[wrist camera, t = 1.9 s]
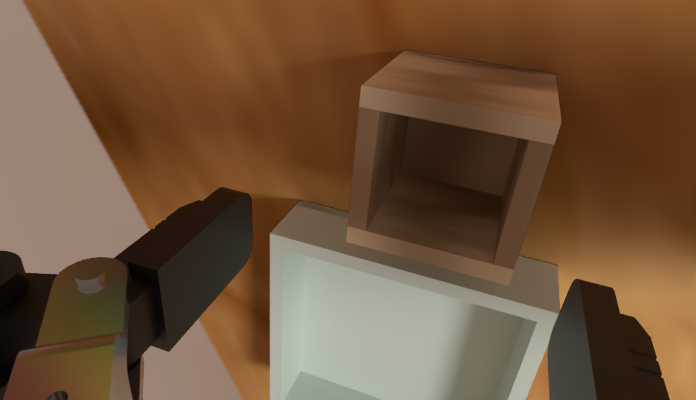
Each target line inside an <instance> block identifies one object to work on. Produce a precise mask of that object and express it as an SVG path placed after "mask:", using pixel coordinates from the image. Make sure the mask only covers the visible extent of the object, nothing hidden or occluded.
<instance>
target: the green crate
mask: <svg viewBox="0 0 696 400" xmlns="http://www.w3.org/2000/svg"><path fill="white" fill-rule="evenodd" d="M348 216H349V212H346V211H342V210H338V209H334V208H330V207H326V206H323V205H319V204H315V203H311V202H307V201H303V200H300V201H299V202H298V203H297V205H296V206H295V207H294V208H293V209H292V210H291V211H290V212H289V213H288V214H287V215H286V216H285V217H284V219H283V220H282V221H281V222H280V223H279V224H278V225H277V226H276V227H275V228H274V229H273V230H272V231H271V233H270V400H526V397H527V395H528V392H529V390H530V387H531V385H532V382H533V380H534V377H535V375H536V373H537V370H538V368H539V365H540V363H541V360H542V358H543V355H544V353H545V350H546V348H547V346H548V343H549V340H550V336H551V332H552V329H553V327H554V324H555V322H556V320H557V317H558V315H559V312H560V301H559V284H558V266H557V265H554V264H550V263H546V262H542V261H538V260H534V259H530V258H527V257H523V256H518V259H517V262H516V265H515V268H514V271H513V275H512V278H511V281H510V284H509V286H507V285H503V284H500V283H496V282H492V281H489V280H485V279H481V278H478V277H474V276H470V275H467V274H463V273H459V272H456V271H452V270H448V269H445V268H441V267H437V266H434V265H430V264H426V263H422V262H419V261H415V260H411V259H408V258H404V257H400V256H397V255H393V254H389V253H386V252H382V251H378V250H375V249H371V248H367V247H364V246H360V245H356V244H353V243H349V242H346V236H347V226H348Z"/></svg>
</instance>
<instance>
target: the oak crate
mask: <svg viewBox="0 0 696 400" xmlns="http://www.w3.org/2000/svg"><path fill="white" fill-rule="evenodd" d="M561 123H562V121H561V113H560V105H559V97H558V89H557V81H556V74H554V73H548V72H542V71H535V70H529V69H523V68H517V67H510V66H504V65H498V64H491V63H485V62H479V61H472V60H466V59H460V58H454V57H447V56H441V55H435V54H428V53H422V52H416V51H410V50H405V51H403V52H402V53H401V54H400V55H398V56H397V57H396V58H395V59H393V60H392V61H391V62H390V63H388V64H387V65H386V66H385V67H383V68H382V69H381V70H380V71H378V72H377V73H376V74H375V75H373V76H372V77H371V78H370V79H368V80H367V81H366V82H365V83H363V84H362V85H361V91H360V101H359V112H358V122H357V133H356V143H355V153H354V164H353V174H352V184H351V195H350V205H349V216H348V226H347V236H346V242H349V243H353V244H356V245H360V246H364V247H367V248H371V249H375V250H378V251H382V252H386V253H389V254H393V255H397V256H400V257H404V258H408V259H411V260H415V261H419V262H422V263H426V264H430V265H434V266H437V267H441V268H445V269H448V270H452V271H456V272H459V273H463V274H467V275H470V276H474V277H478V278H481V279H485V280H489V281H492V282H496V283H500V284H503V285H507V286H509V284H510V281H511V278H512V275H513V271H514V268H515V265H516V262H517V259H518V256H519V253H520V250H521V247H522V244H523V240H524V237H525V234H526V231H527V228H528V225H529V222H530V219H531V216H532V213H533V209H534V206H535V203H536V200H537V197H538V194H539V191H540V188H541V185H542V182H543V178H544V175H545V172H546V169H547V166H548V163H549V160H550V157H551V154H552V151H553V147H554V144H555V141H556V138H557V135H558V132H559V129H560V126H561Z"/></svg>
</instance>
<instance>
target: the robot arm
mask: <svg viewBox="0 0 696 400" xmlns="http://www.w3.org/2000/svg"><path fill="white" fill-rule="evenodd" d="M252 243H253V238H252V199H251V196H250V195H249V194H247V193H244V192H240V191H236V190H232V189H228V188H224V187H221V188H219V189H217V190H216V191H215V192H213V193H212V194H211V195H210V196H208V197H207V198H206V199H205V200H203V201H200V200H198V201H195V202H193V203H190V204H188V205H185V206H183V207H180V208H179V209H177V210H176V211H175V212H173V213H172V214H171V215H170V216H168V217H167V218H166V221H165V220H163V221H162V222H160V223H159V224H158V225H157V226H155V229H151V230H150V231H149V232H147V233H146V234H145V235H144V236H142V237H141V238H140V239H138V240H137V241H136V242H134V243H133V244H132V245H130V246H129V247H128V248H127V249H125V250H124V251H123V252H121V253H120V254H119V255H118V256H116V257H115V258H114V259H113V258H106V257H97V258H90V259H85V260H82V261H79V262H76V263H74V264H72V265H70V266H68V267H66V268H65V269H63V270H62V271H61V272H60V273H59V274H58V275H57V274H38V273H25V270H24V267H23V264H22V261H21V258H20V257H19V256H18V255H16V254H15V253H12V252H8V251H0V400H143V378H144V359H143V353H144V352H145V351H146V350H147V349H148V348H149V347H150V346H154V347H157V348H160V349H163V350H165V351H170V350H171V349H172V348H173V347H174V346H175V344H176V343H177V342H178V341H179V340H180V339H181V338H182V336H183V335H184V334H185V333H186V332H187V331H188V330H189V328H190V327H191V326H192V325H193V324H194V323H195V322H196V320H197V319H198V318H199V317H200V316H201V315H202V314H203V312H204V311H205V310H206V309H207V308H208V307H209V305H210V304H211V303H212V302H213V301H214V300H215V299H216V297H217V296H218V295H219V294H220V293H221V292H222V291H223V289H224V288H225V287H226V286H227V285H228V284H229V283H230V281H231V280H232V279H233V278H234V277H235V276H236V275H237V273H238V272H239V271H240V270H241V269H242V268H243V267H244V265H245V264H246V262H247V261H248V259H249V256H250V253H251V250H252ZM656 358H657V357H656V353H655V350H654V347H653V344H652V340H651V337H650V336H649V335H648V334H647V332H646V331H645V330H644V329H643V327H642V326H641V325H640V324H639V322H638V321H637V320H636V319H635V317H631V316H627V315H623V314H620V312H619V308H618V304H617V299H616V295H615V292H614V289H613V288H611V287H607V286H603V285H599V284H595V283H591V282H587V281H583V280H579V279H575V280H574V281H573V283H572V284H571V286H570V289H569V291H568V293H567V296H566V298H565V301H564V303H563V305H562V308H561V310H560V312H559V315H558V317H557V320H556V322H555V324H554V327H553V329H552V332H551V336H550V340H549V346H548V373H549V395H550V400H670V399H669V396H668V392H667V389H666V386H665V383H664V379H663V378H661V375H662V373H661V370H660V366H659V363H658V361H656Z"/></svg>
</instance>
